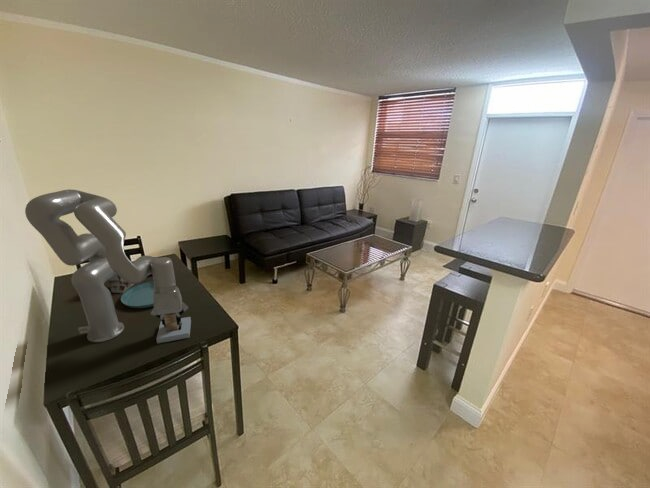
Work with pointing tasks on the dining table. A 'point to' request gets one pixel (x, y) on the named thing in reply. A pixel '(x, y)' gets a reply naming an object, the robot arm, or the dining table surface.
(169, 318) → the plug
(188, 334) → the grey square-hole plate
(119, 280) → the coffee box
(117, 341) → the dining table surface
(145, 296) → the blue plate
